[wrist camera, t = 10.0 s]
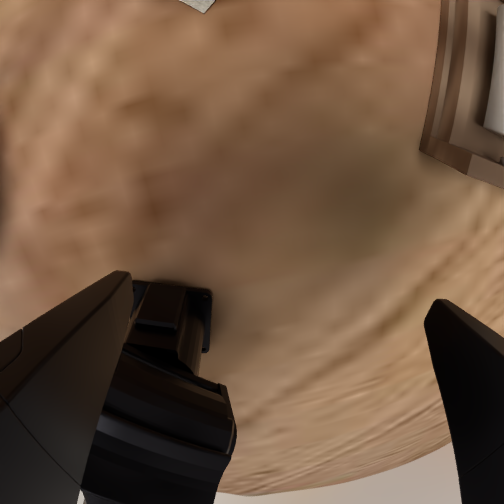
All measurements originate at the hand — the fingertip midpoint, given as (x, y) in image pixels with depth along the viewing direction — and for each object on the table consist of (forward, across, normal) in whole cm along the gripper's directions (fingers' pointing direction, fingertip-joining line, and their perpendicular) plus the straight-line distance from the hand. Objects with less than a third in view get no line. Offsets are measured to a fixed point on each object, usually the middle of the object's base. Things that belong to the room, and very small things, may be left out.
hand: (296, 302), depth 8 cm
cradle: (+12, -15, -11) cm, 22 cm away
